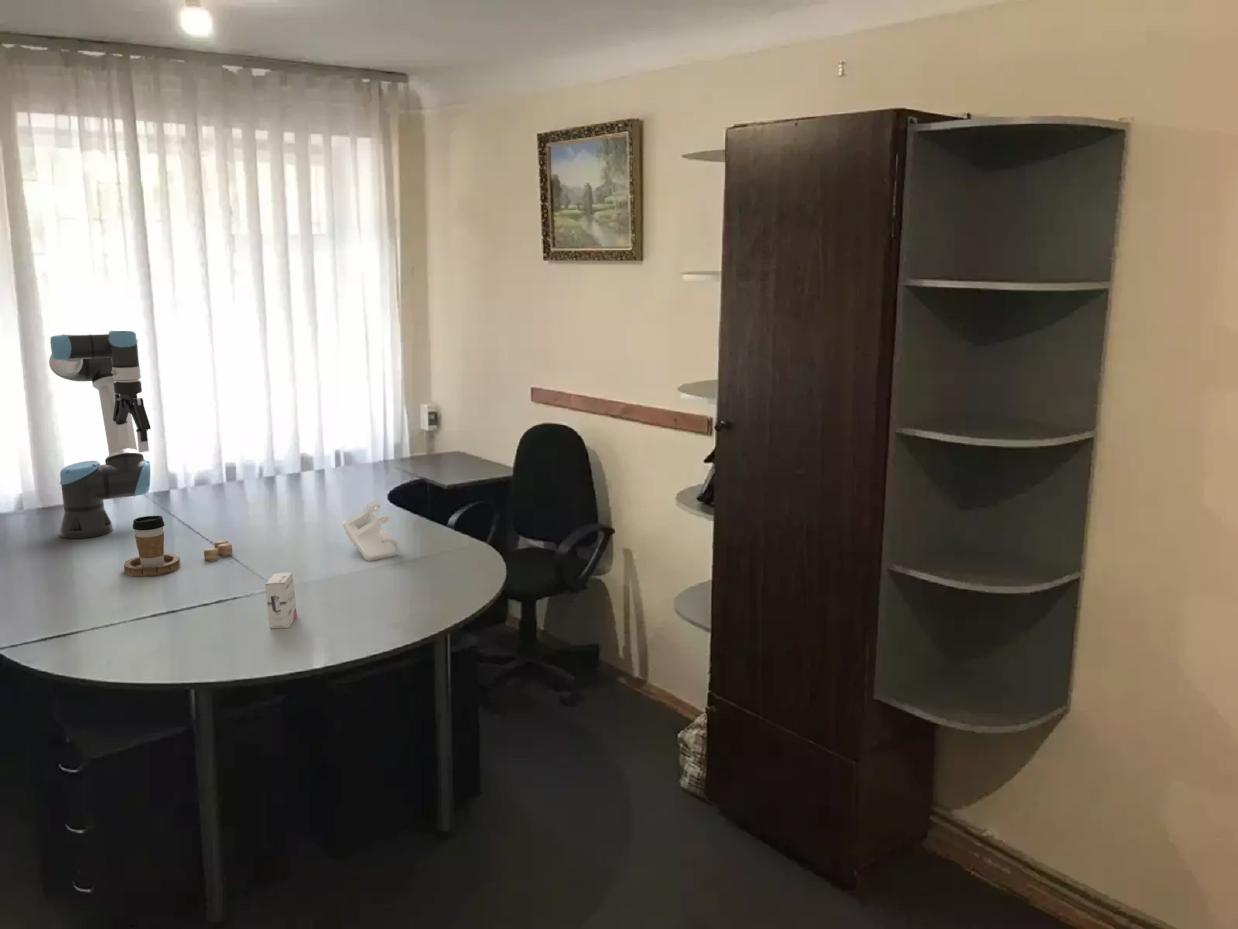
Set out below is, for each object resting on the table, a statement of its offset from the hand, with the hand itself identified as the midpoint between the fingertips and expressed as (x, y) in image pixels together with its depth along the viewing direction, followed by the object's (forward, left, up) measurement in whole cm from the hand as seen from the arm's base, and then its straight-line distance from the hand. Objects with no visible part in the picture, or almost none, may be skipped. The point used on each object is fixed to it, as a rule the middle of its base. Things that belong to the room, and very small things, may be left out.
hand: (133, 448), depth 298 cm
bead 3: (+27, +13, -32) cm, 44 cm away
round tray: (+24, -8, -32) cm, 41 cm away
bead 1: (+28, +8, -32) cm, 43 cm away
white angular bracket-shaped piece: (+59, +44, -32) cm, 80 cm away
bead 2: (+23, +14, -32) cm, 42 cm away
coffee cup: (+24, -8, -31) cm, 41 cm away
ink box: (+91, -6, -32) cm, 97 cm away
